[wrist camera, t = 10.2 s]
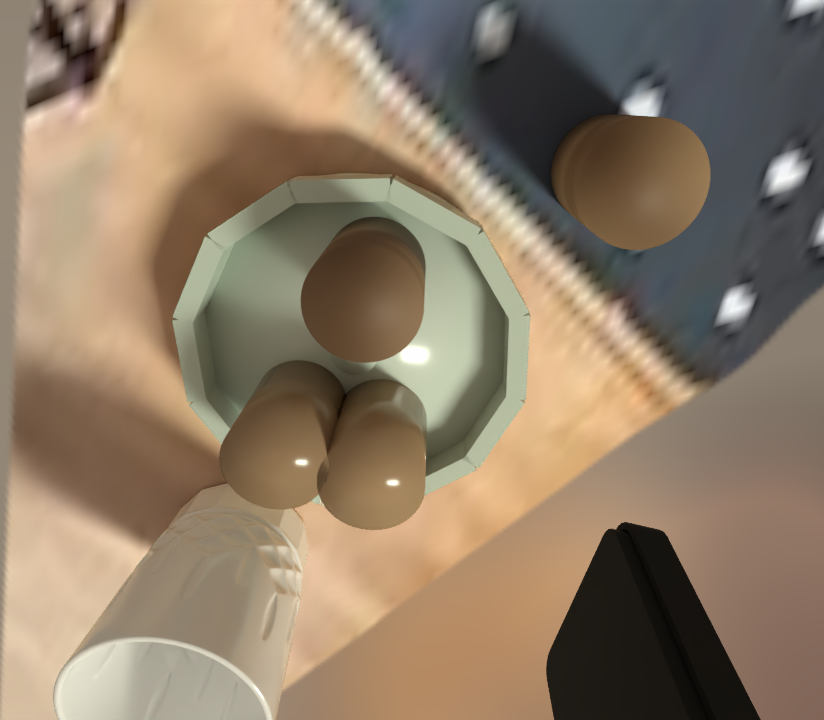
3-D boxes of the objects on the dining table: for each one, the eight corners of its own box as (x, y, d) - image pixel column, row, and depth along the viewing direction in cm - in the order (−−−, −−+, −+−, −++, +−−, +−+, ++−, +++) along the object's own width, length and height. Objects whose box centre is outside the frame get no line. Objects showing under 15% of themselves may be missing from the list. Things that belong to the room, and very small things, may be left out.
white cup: (150, 474, 30) (21, 640, 20) (308, 466, 29) (250, 634, 20) (186, 598, 33) (88, 792, 23) (330, 593, 32) (288, 789, 23)
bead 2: (629, 92, 22) (680, 89, 18) (672, 187, 24) (729, 207, 19) (532, 151, 23) (557, 163, 19) (578, 240, 25) (611, 272, 20)
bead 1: (436, 230, 24) (437, 261, 19) (412, 324, 25) (408, 374, 20) (335, 205, 23) (311, 230, 19) (317, 302, 25) (291, 347, 20)
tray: (412, 99, 23) (404, 97, 17) (575, 390, 27) (611, 463, 22) (132, 285, 26) (50, 334, 20) (318, 518, 30) (293, 611, 25)
